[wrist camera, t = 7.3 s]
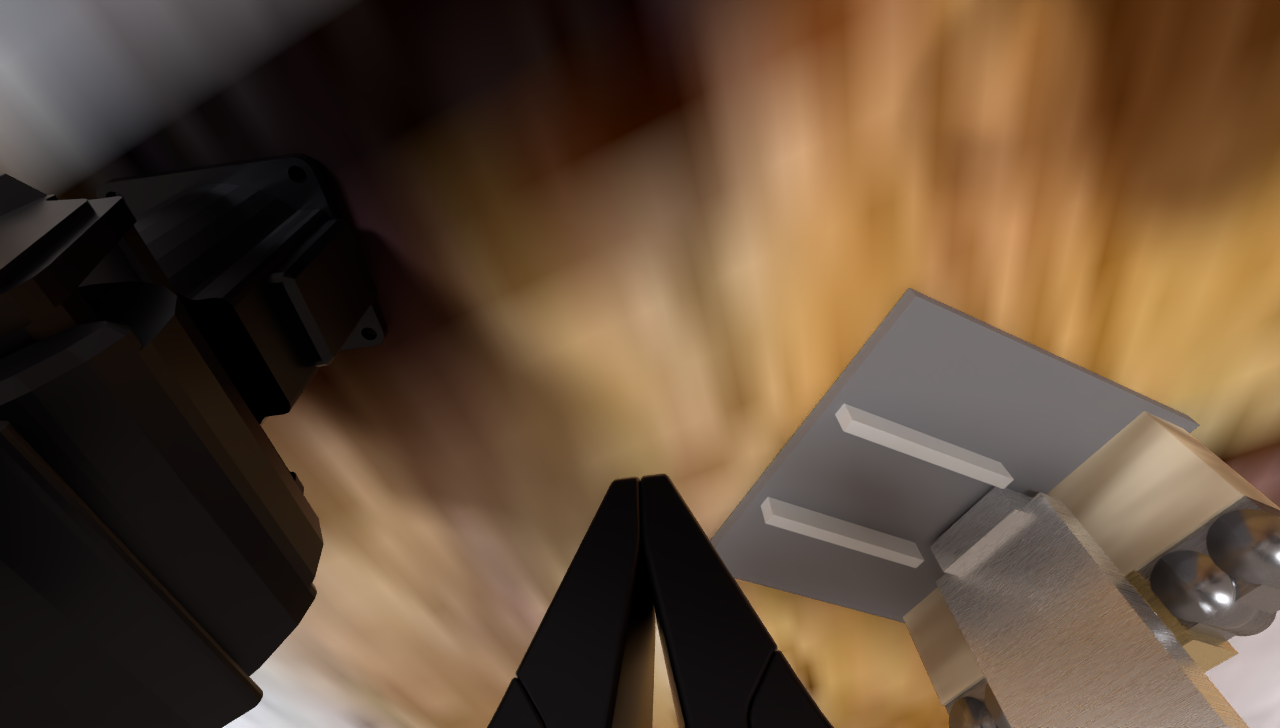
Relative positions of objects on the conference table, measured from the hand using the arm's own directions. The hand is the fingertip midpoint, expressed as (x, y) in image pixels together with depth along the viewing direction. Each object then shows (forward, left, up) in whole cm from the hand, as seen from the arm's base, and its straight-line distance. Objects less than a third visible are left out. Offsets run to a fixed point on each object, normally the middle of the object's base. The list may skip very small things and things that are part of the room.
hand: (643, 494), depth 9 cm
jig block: (+17, -18, -11) cm, 27 cm away
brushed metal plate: (+16, -17, -11) cm, 26 cm away
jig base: (+12, -15, -12) cm, 22 cm away
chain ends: (+17, -18, -7) cm, 25 cm away
